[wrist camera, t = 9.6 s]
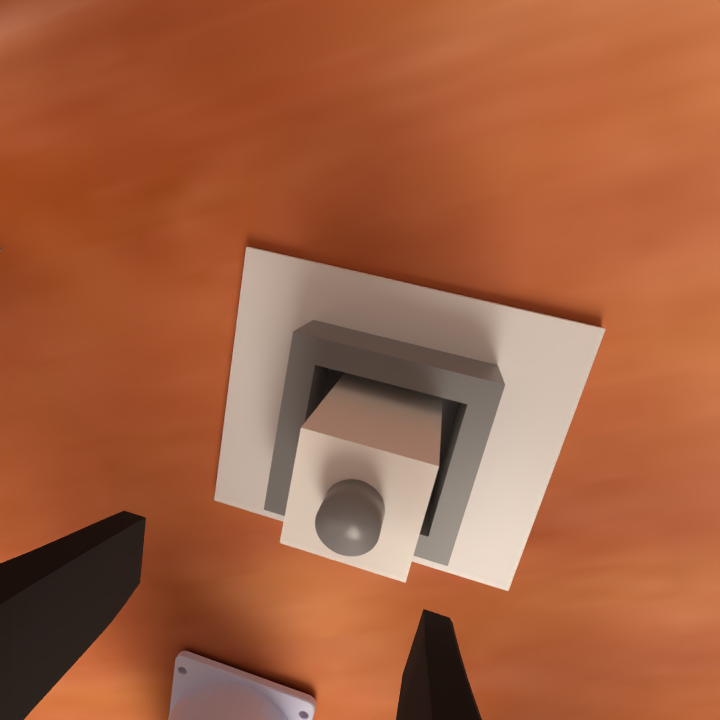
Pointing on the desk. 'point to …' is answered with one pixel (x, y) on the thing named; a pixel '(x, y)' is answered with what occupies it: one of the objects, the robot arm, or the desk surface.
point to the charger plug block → (365, 475)
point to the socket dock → (411, 371)
